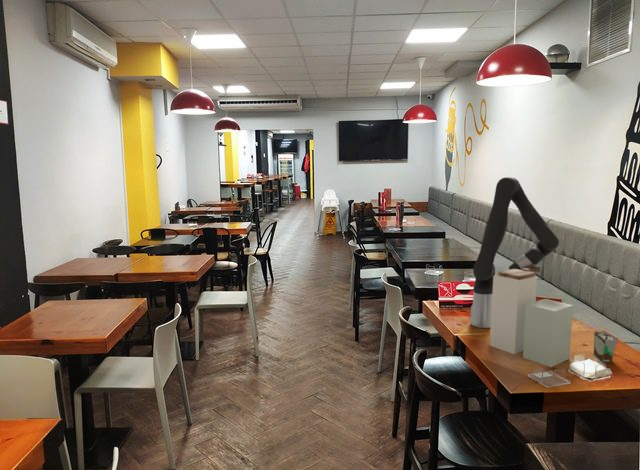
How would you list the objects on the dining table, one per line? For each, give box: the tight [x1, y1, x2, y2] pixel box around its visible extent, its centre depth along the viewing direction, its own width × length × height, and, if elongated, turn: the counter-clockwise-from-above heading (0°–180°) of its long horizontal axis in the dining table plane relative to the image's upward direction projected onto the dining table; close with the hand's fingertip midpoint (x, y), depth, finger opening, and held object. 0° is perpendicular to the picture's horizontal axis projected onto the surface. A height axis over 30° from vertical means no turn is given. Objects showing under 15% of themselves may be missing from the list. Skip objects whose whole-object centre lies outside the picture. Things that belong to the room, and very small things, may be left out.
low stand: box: [522, 298, 574, 368], centre depth 192 cm, size 12×14×23 cm
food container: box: [593, 330, 618, 365], centre depth 191 cm, size 12×6×10 cm, turn 168°
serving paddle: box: [497, 265, 541, 280], centre depth 205 cm, size 10×22×2 cm, turn 125°
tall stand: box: [489, 274, 538, 355], centre depth 204 cm, size 12×14×32 cm
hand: (495, 289), depth 221 cm, fingers open, 8 cm apart
